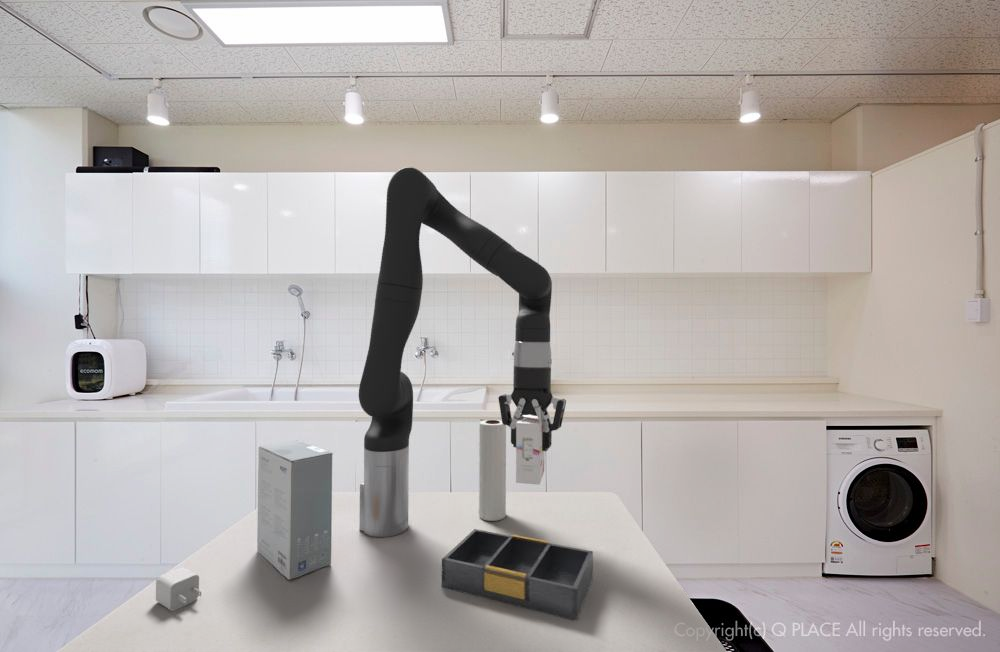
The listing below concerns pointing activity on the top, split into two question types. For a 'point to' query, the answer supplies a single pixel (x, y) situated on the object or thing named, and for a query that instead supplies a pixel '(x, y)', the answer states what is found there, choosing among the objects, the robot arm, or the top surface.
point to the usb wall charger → (177, 588)
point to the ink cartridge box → (529, 450)
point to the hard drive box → (295, 507)
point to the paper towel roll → (492, 469)
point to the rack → (520, 572)
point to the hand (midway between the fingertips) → (530, 448)
